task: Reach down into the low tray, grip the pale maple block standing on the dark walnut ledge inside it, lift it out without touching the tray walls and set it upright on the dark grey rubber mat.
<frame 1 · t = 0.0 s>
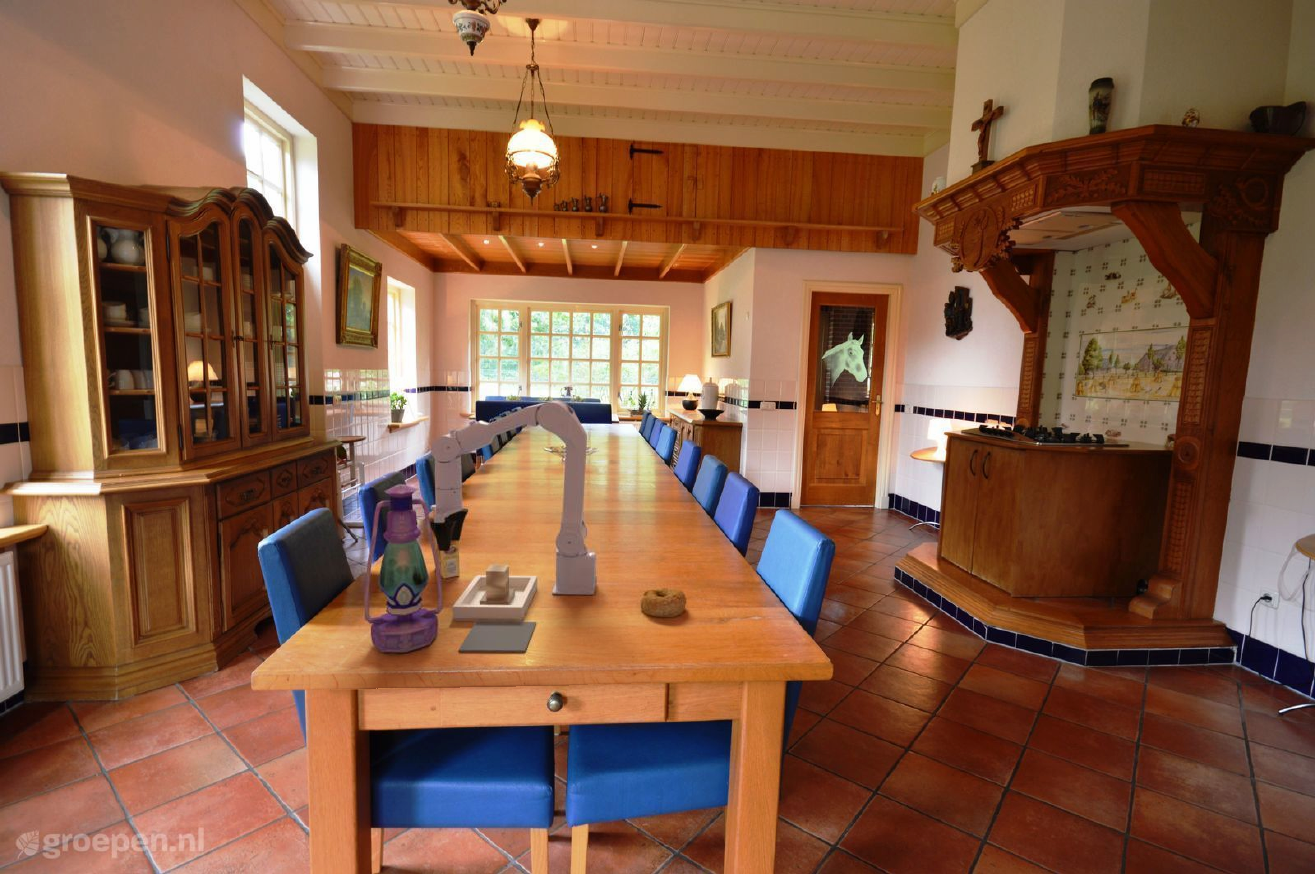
hand: (449, 545, 137), 10 cm above the table, tool pointing down, fingers open, 7 cm apart
tray: (497, 603, 130), on the table
candy box: (446, 572, 148), on the table
lantern: (405, 642, 112), on the table
rubber mat: (499, 637, 114), on the table
bagel: (662, 610, 129), on the table
maple block: (497, 594, 130), point 2 cm above the table, touching tray
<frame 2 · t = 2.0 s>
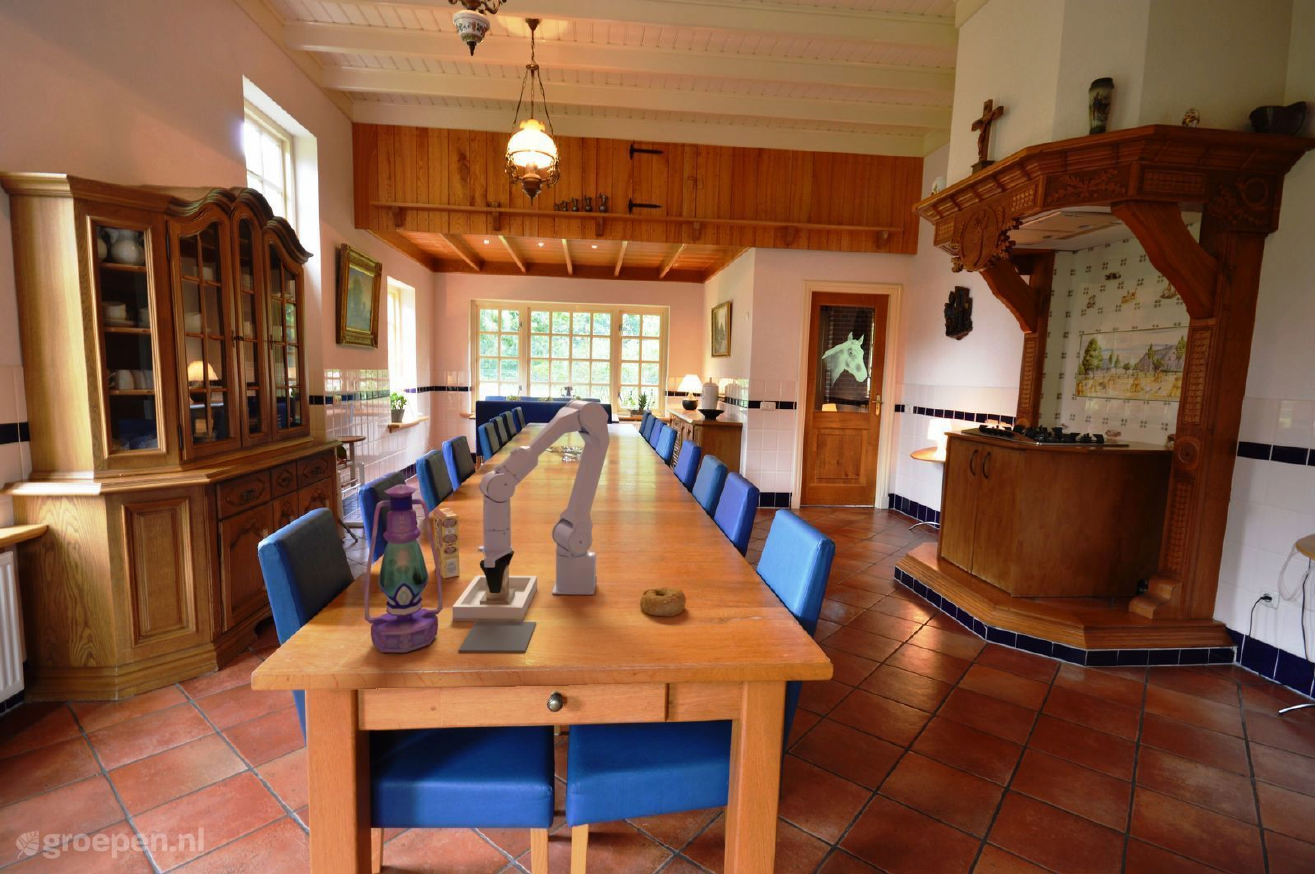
hand: (497, 588, 130), 3 cm above the table, tool pointing down, fingers closed on maple block, 4 cm apart
maple block: (497, 594, 130), point 2 cm above the table, touching tray, gripper
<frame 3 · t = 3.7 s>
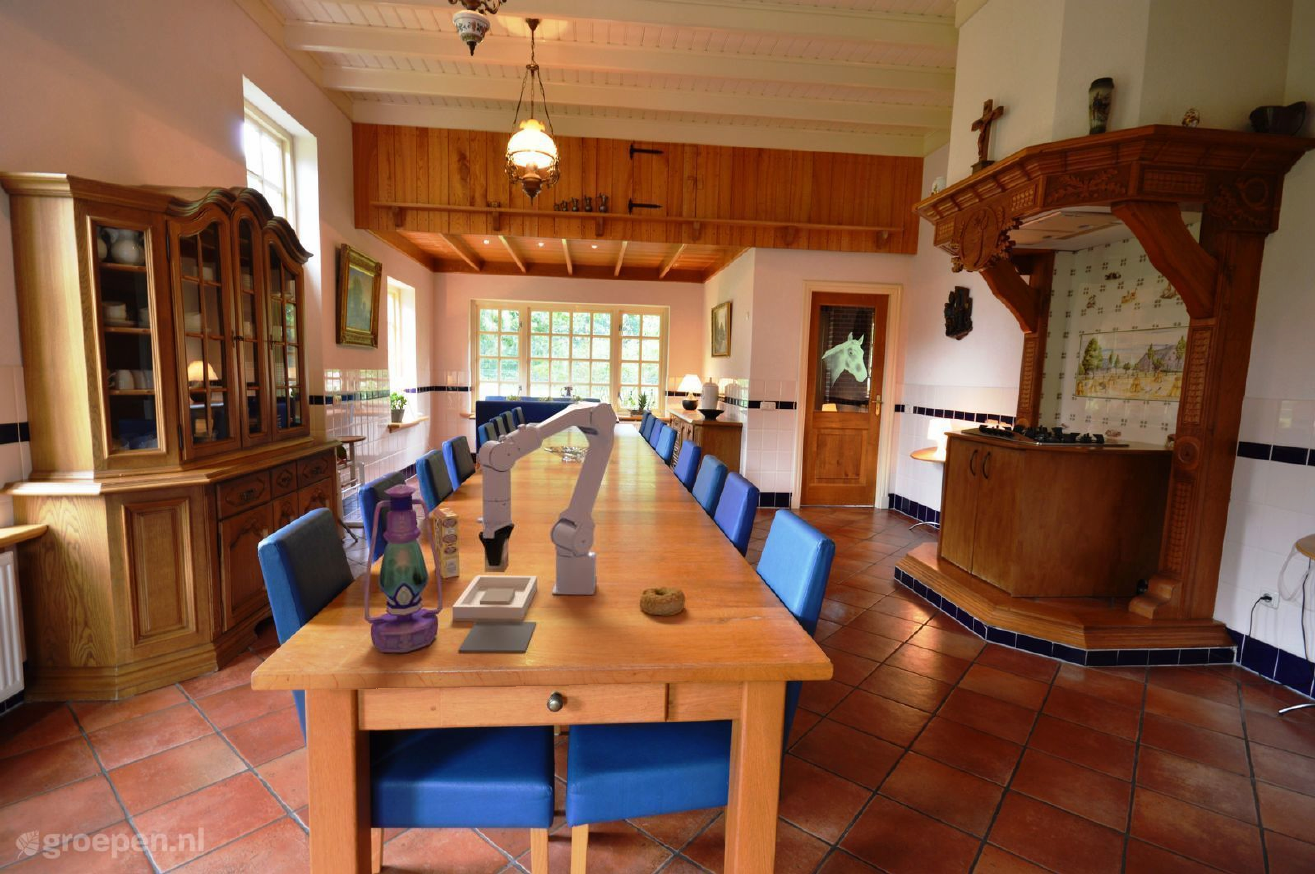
hand: (497, 561, 126), 10 cm above the table, tool pointing down, fingers closed on maple block, 4 cm apart
maple block: (496, 568, 126), point 9 cm above the table, touching gripper
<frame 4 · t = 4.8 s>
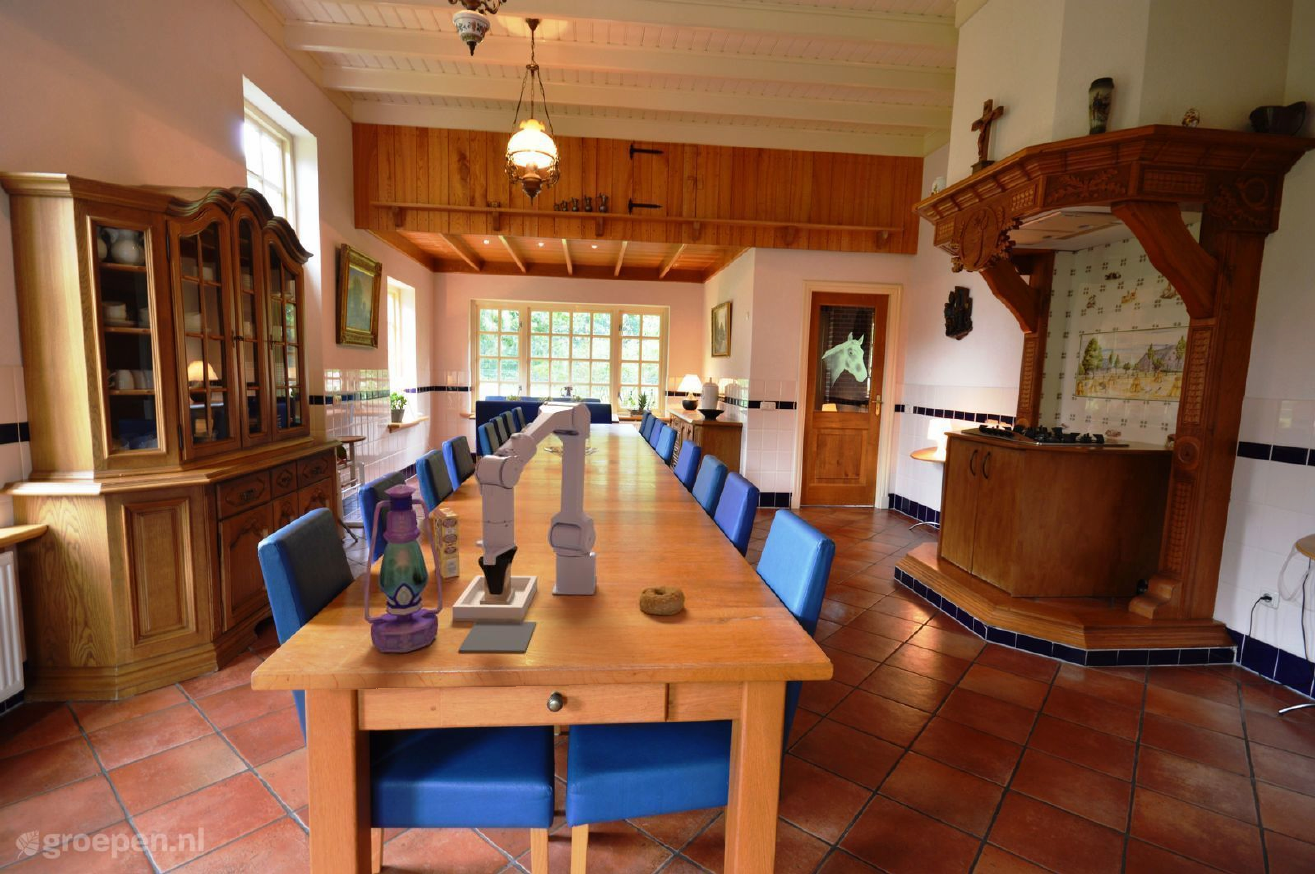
hand: (498, 589, 113), 10 cm above the table, tool pointing down, fingers closed on maple block, 4 cm apart
maple block: (498, 596, 113), point 8 cm above the table, touching gripper
when the fingers open (3 cm above the table, at t = 6.3 s): maple block stays where it is, resting on rubber mat.
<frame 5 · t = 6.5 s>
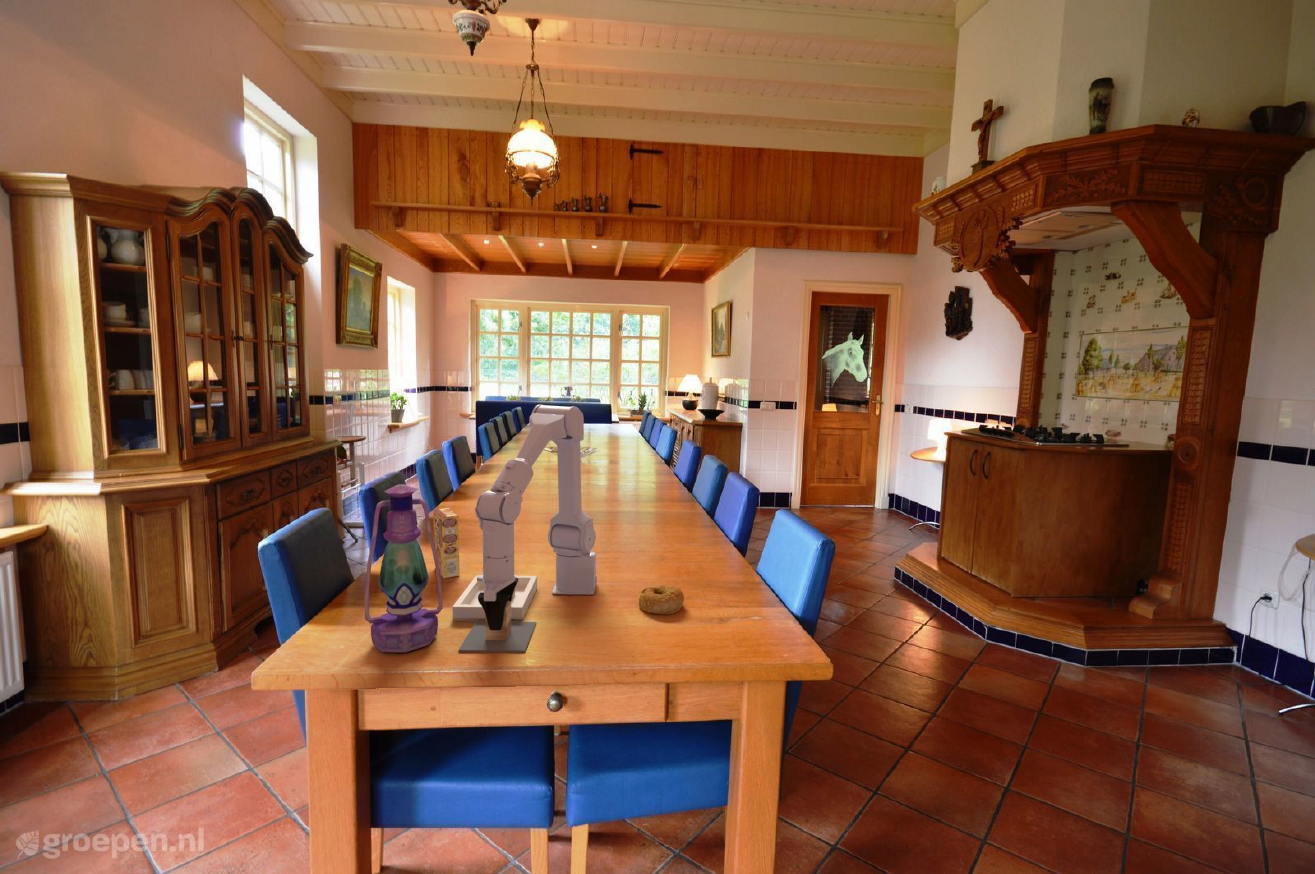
hand: (499, 622, 114), 3 cm above the table, tool pointing down, fingers open, 5 cm apart
maple block: (498, 635, 114), resting on rubber mat
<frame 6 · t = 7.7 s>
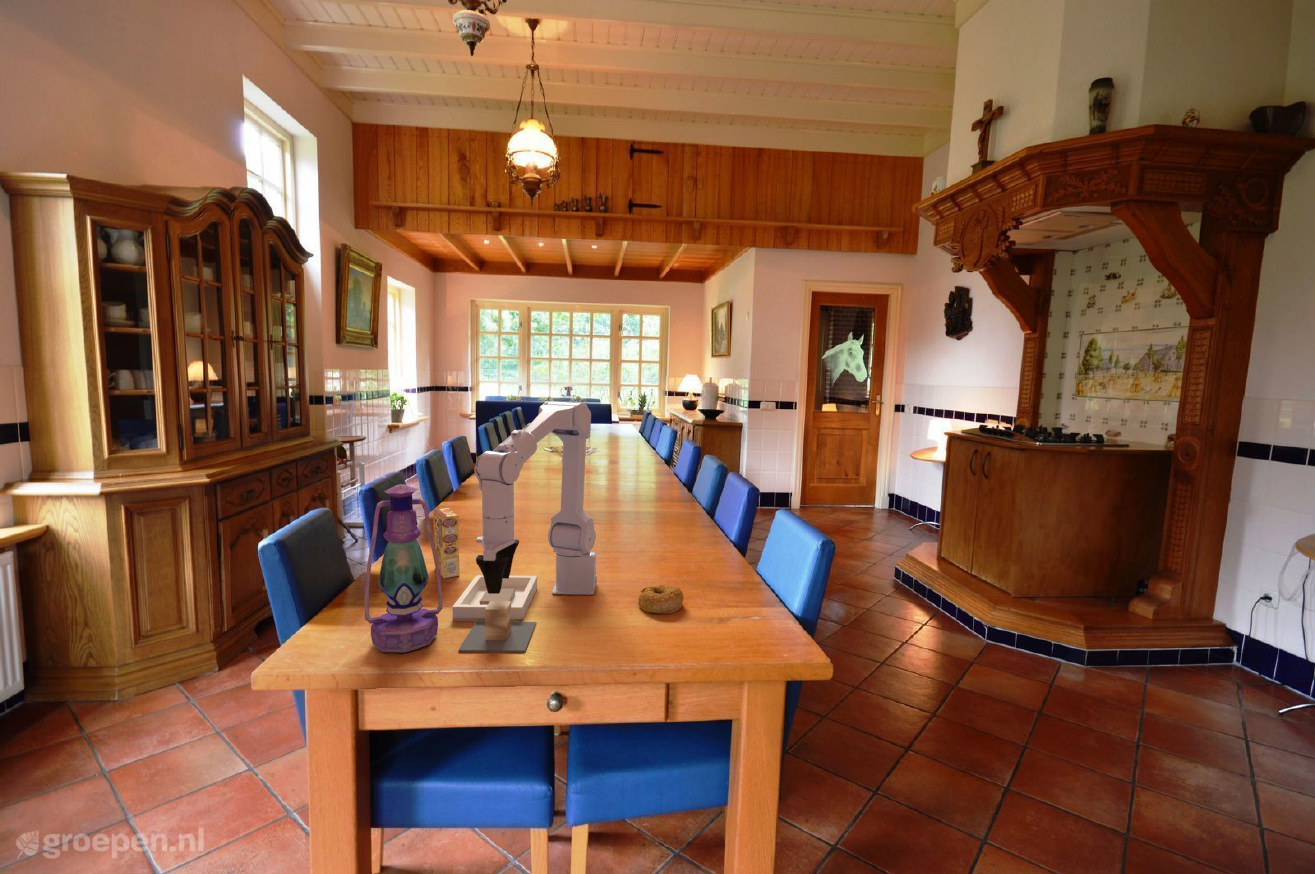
hand: (498, 585, 113), 10 cm above the table, tool pointing down, fingers open, 7 cm apart
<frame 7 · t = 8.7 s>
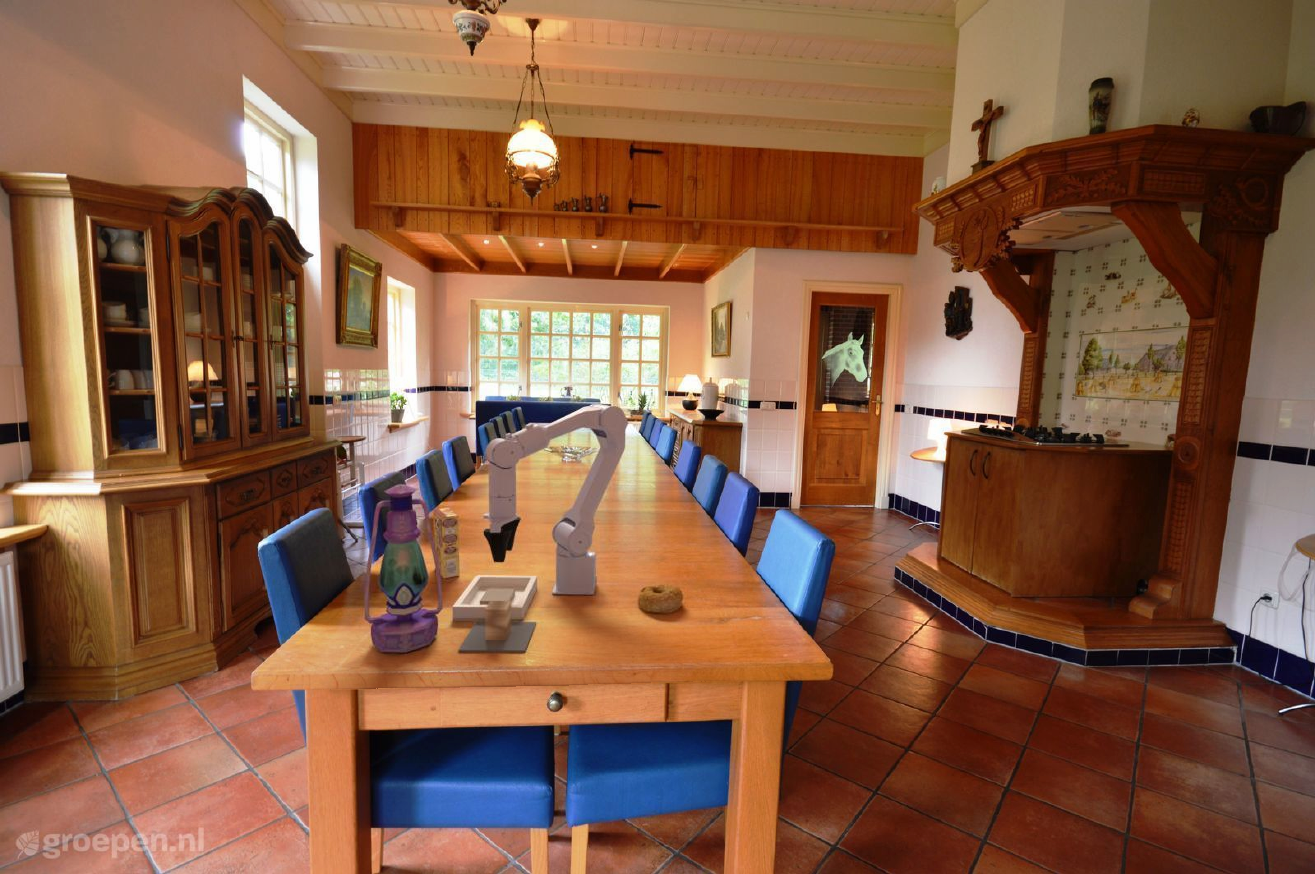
hand: (503, 555, 130), 10 cm above the table, tool pointing down, fingers open, 7 cm apart
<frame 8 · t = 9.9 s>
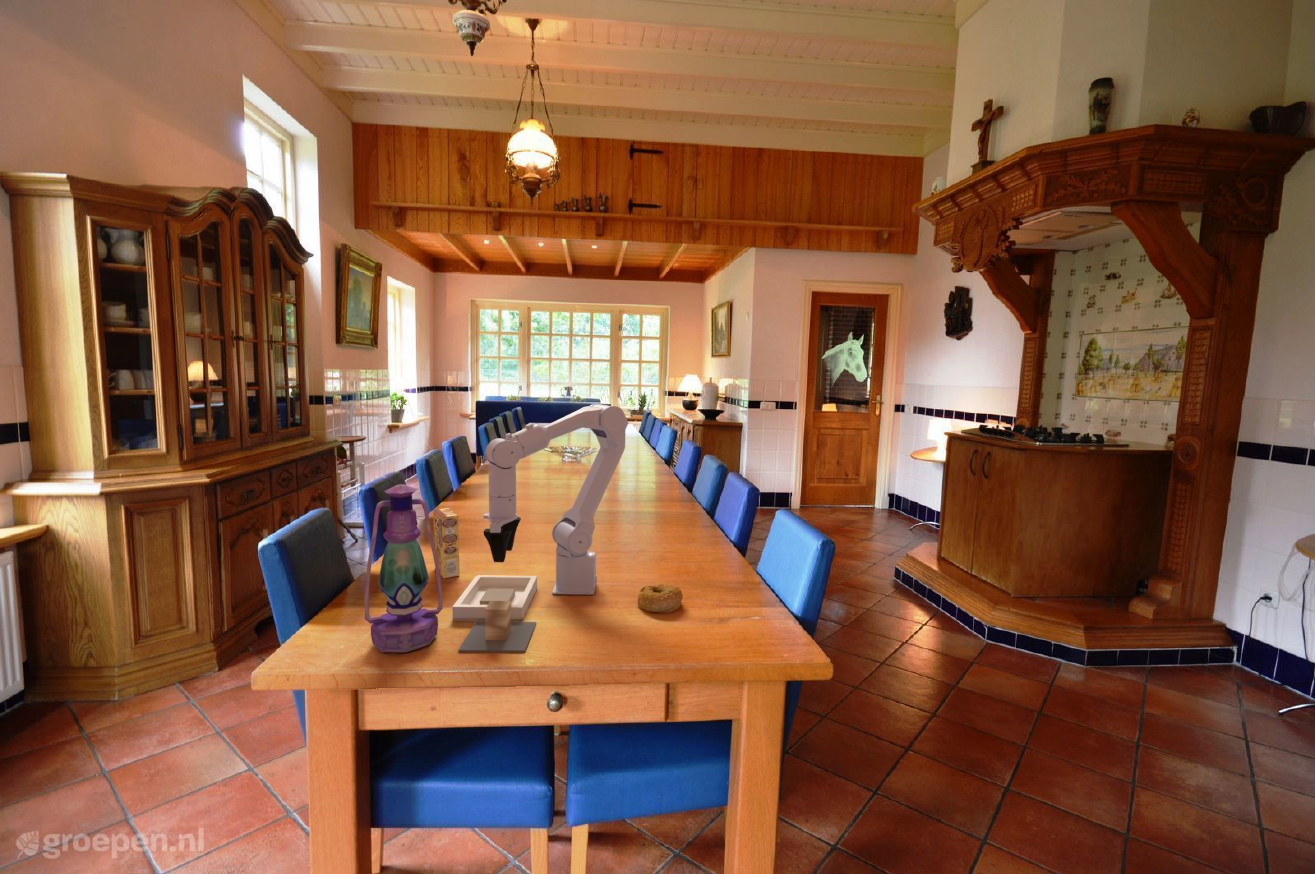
hand: (503, 555, 130), 10 cm above the table, tool pointing down, fingers open, 7 cm apart
at the end: maple block inside the target area on the rubber mat (0.2 cm from its centre), point 0.4 cm above the rubber mat's base; maple block tilted 0°; maple block touching rubber mat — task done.
